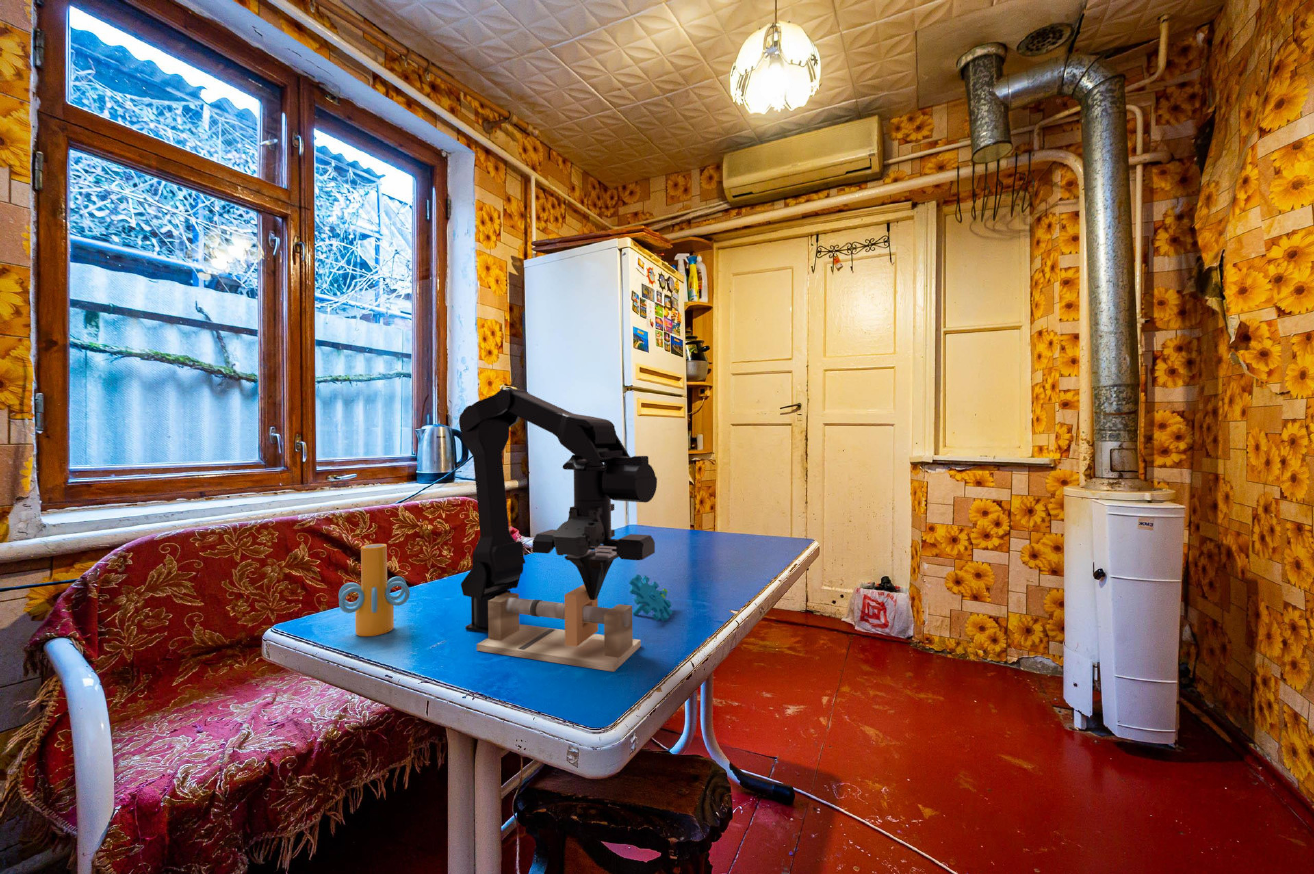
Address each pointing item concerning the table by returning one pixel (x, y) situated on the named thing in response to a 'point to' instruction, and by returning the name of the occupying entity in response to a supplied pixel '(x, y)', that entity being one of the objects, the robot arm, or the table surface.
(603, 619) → the pipe rig
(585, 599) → the collar
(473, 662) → the table surface
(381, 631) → the cylinder
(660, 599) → the gear
